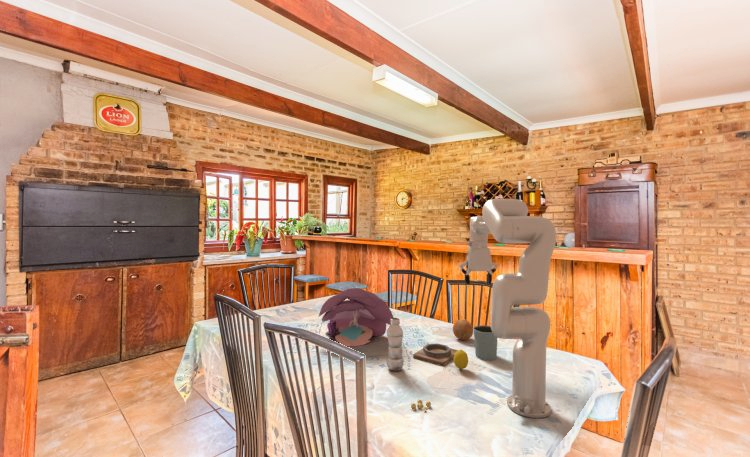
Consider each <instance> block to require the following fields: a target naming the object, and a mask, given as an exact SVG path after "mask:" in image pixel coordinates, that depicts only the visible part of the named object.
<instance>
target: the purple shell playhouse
mask: <svg viewBox="0 0 750 457" xmlns="http://www.w3.org/2000/svg"><path fill="white" fill-rule="evenodd" d="M321 316H322V318H321V322H327V321H329V322H328V323H327V324H326V327H327V330H328V331H326V332H325V336H326V337H328V338H330V339H331V340H332V339H334V338H335V340H336V342H337V343H338V342H339V343H338V344H340V343H341V344H343V345H342V346H344V345H345V347H359V346H363V345H366V344H368V343H370V342H371V338H372V337H381V336H383V335H385V333H387V325H389V326H390V325H391V324H390V319H391V318H395V317H394V315H393V313H392V311H391V309H390V307H389V306H388V304H387V303H386V302H385V301H384V300H383V298H380V297H379V296H378V295H377V294H375V293H373V292H371V291H369V290H365V289H363V288H358V287H353V288H352V287H351V288H347V289H345V290H343V291H341V292H339V293H337V294H335V295H332V296H331V297H329V298H328V299H327V300H326V301H325V302H324V303H323V304H322V306H321V308H320V311H319V314H318V318H319V317H321ZM341 344H340V345H341Z"/></svg>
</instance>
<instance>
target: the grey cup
mask: <svg viewBox="0 0 750 457" xmlns="http://www.w3.org/2000/svg"><path fill="white" fill-rule="evenodd" d="M473 338H474V339H473V340H474V349H475V350H474V352H475V357H476V358H478V359H479V360H483V361H494V360H496V359H497V355H498V354H497V353H498V351H497V350H498V338H497V337H496V336H495V335H494V334H493V332H492V330H491V325H476V326H474V327H473Z"/></svg>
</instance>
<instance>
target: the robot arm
mask: <svg viewBox="0 0 750 457" xmlns="http://www.w3.org/2000/svg"><path fill="white" fill-rule="evenodd" d="M528 213H529V208H528V206H527V204H526V203H525V202H524V201H523V200H520V199H517V198H491V199H488V200H487V201H486V202H485V203H484V204H483V207H482V212H481V214H482V215H477V216H471V217H470V218H469V241H467V242H466V246H469V247H468V248H467V253H466V257H465V258H466V260H464V261H463V262H461V263H460V264H458V268H459V269H460V271H461V272H462V273H463V274H464V283H465V284H466V285H470V283H471V282H470V281H471V279H470V278H471V277H470V273H471V272H486V273H487V274H486V283H487V284H489V285H491V284H492V281H493V284H492V288H491V302H490V326H491V330H492V332H493V334H494V335H495V336H496V337H497V339H501V340H516V341H515V344H514V345H513V350H512V392H511V393H512V394H511V395H509V396H507V399H506V404H507V406H508V407H509V409H510V410H511V411H512V412H514V413H516V414H518V415H521V416H523V417H527V418H532V419H533V418H534V419H542V418H545V417H548V416H550V415H551V414H552V410H551V409H552V406H551V405H550V404H549V403H548V402H547V401H546V389H547V388H546V386H547V385H546V384H547V383H546V381H547V378H546V376H547V346H548V338H549V334H550V331H551V320H550V316H549V314H548V313H547V312H546V311H545V310H544V309H543V308H540V307H535V306H533V305H542V304H543V303H544V302H545V301H546V299H547V296H548V292H549V291H548V290H549V289H548V288H549V280H550V268H551V267H550V265H551V259H552V256H553V253H554V250H555V247H556V242H557V231H556V227H555V225H554V223H553V222H552V221H551V220H550V219H549V218H546V217H543V216H538V215H537V216H535V215H528ZM488 235H491V236H493V238H494V240H495V241H496V242H498V243H501V244H529V245H528V246H527V247H526V248H525V249H524V251H523V252H522V253H521V255H520V257H519V258H518V259H519V262H518V270H517V272H516V273H502V274H499V275H497V276H496V277H495V279H494V280H493V275H494V273H495V272H496V271H497V268H498V266H499V264H497V263H495V262H494V261H492V255H491V254H492V253H491V249H490V247H489V245H488V242H489V241H488V240H489V238H488V237H489V236H488ZM464 266H465V267H466V268H465V269H464ZM513 306H514V307H513Z"/></svg>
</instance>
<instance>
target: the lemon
mask: <svg viewBox="0 0 750 457" xmlns="http://www.w3.org/2000/svg"><path fill="white" fill-rule="evenodd" d="M457 350H458V351H457V352H456V353H455V355H454V358H453V364H454V365H455V367H456V368H457V369H459V370H460V371H462V370H464V369H466V368H467V367H468V364H469V356H468V354H467V353H466V351H464V350H463V349H457Z"/></svg>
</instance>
